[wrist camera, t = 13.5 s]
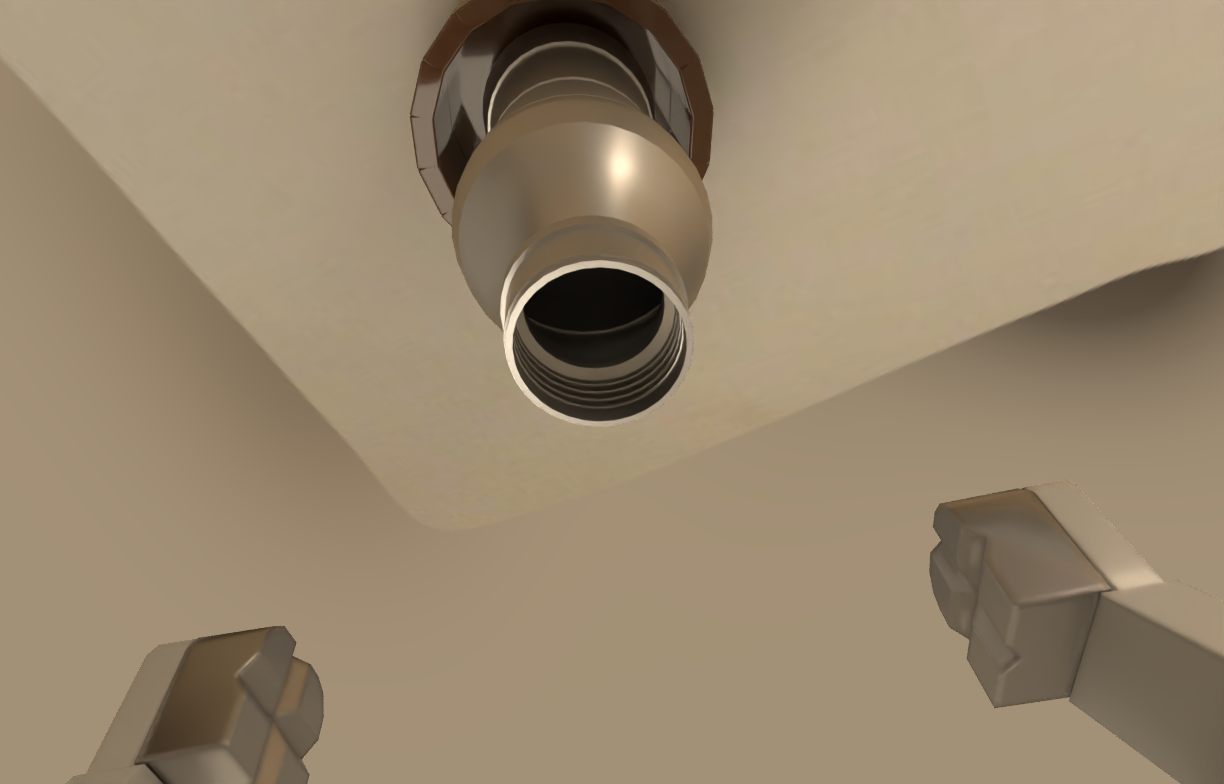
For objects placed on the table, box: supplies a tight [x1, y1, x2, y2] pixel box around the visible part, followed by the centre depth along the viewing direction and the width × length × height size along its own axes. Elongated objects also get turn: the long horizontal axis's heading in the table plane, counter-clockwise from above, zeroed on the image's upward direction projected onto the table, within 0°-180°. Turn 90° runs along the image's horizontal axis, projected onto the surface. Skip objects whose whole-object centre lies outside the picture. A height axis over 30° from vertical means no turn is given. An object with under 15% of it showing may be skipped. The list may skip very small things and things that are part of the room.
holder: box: [410, 0, 713, 226], centre depth 29 cm, size 11×11×6 cm
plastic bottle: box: [452, 22, 712, 427], centre depth 23 cm, size 6×7×20 cm
